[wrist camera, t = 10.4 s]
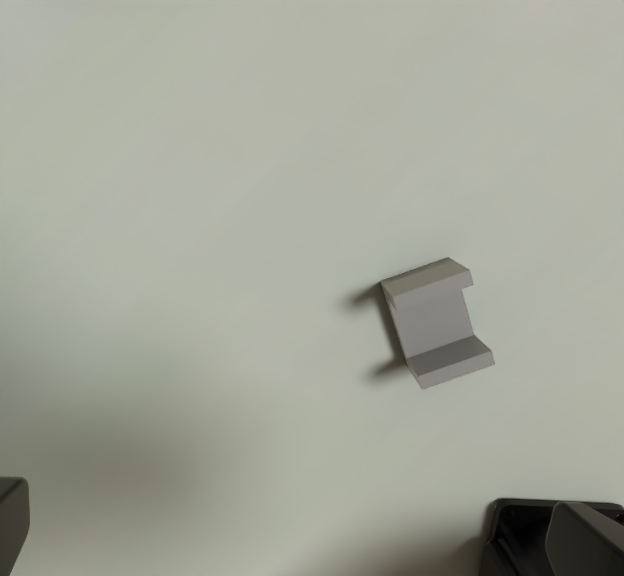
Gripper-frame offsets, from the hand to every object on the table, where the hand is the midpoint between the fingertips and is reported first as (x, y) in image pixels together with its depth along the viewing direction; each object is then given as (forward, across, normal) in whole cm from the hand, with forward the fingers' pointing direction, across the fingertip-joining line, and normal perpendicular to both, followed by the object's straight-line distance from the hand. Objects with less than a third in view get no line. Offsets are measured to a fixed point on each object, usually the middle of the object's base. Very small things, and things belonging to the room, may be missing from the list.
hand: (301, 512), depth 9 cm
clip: (+13, -6, 0) cm, 14 cm away
